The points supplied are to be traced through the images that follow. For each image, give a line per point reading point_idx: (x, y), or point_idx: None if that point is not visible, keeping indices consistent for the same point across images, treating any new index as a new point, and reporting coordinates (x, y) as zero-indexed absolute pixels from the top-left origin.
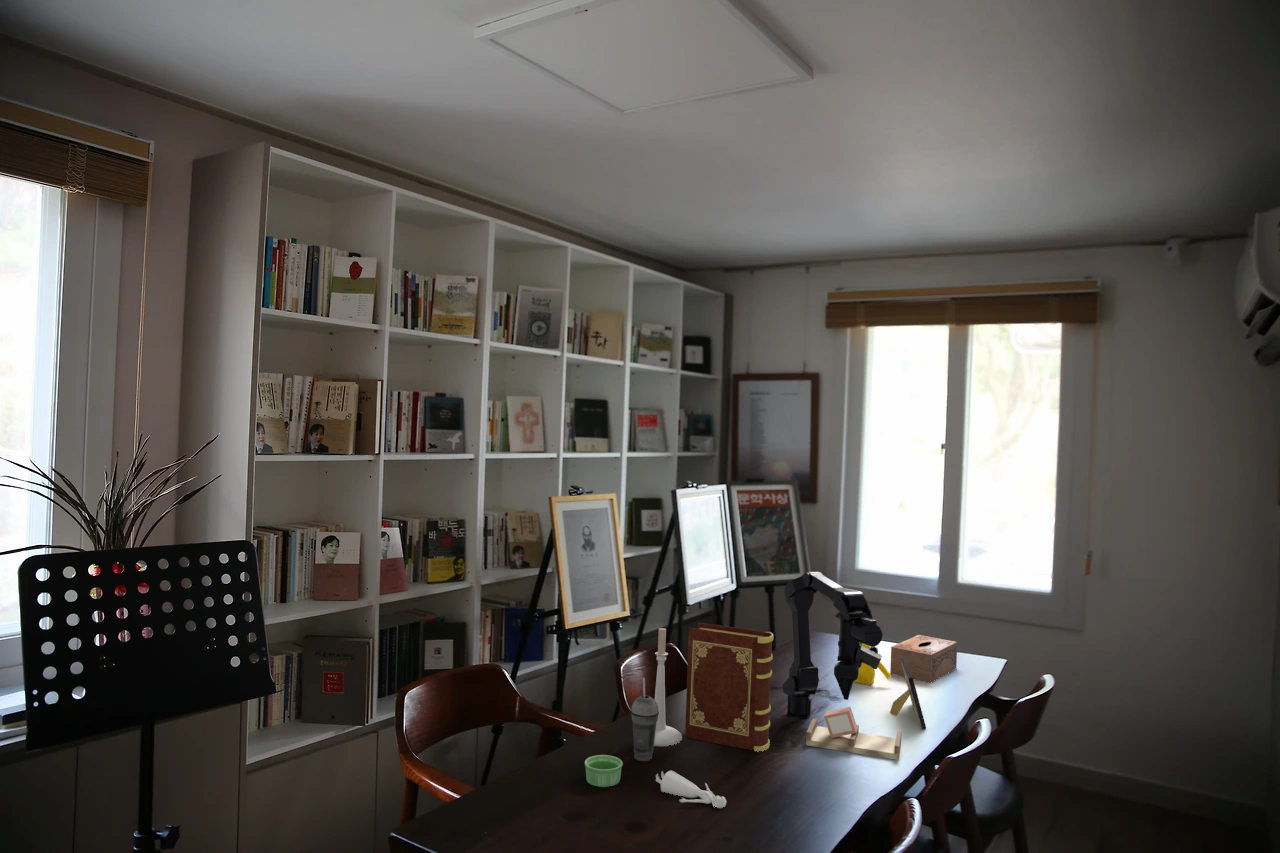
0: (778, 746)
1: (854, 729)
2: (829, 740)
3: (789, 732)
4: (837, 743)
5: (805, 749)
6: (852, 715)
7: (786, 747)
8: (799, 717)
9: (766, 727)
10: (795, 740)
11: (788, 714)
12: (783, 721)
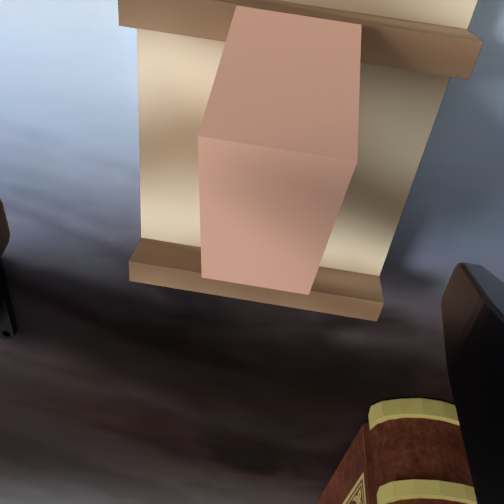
0: (408, 369)
1: (360, 45)
2: (363, 185)
3: (219, 328)
4: (408, 141)
5: (430, 279)
6: (256, 88)
7: (416, 345)
8: (6, 289)
9: None
10: (316, 312)
11: (11, 331)
12: (90, 342)
